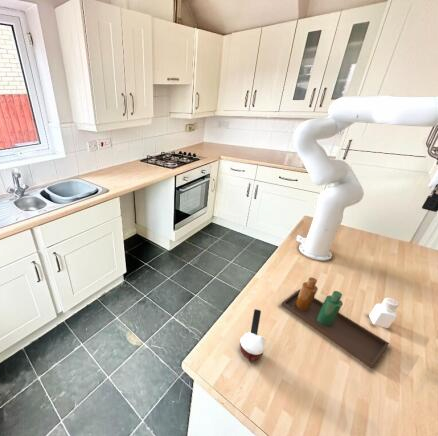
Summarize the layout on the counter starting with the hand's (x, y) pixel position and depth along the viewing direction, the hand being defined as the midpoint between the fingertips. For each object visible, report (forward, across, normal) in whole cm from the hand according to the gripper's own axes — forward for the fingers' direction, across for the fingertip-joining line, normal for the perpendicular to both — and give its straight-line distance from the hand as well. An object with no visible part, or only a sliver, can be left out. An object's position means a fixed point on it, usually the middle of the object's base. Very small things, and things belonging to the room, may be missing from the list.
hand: (433, 205), depth 73 cm
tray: (+34, +32, -5) cm, 48 cm away
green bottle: (+34, +32, -6) cm, 47 cm away
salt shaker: (+35, +19, +4) cm, 40 cm away
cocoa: (+34, +60, -14) cm, 71 cm away
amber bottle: (+34, +32, -13) cm, 48 cm away
